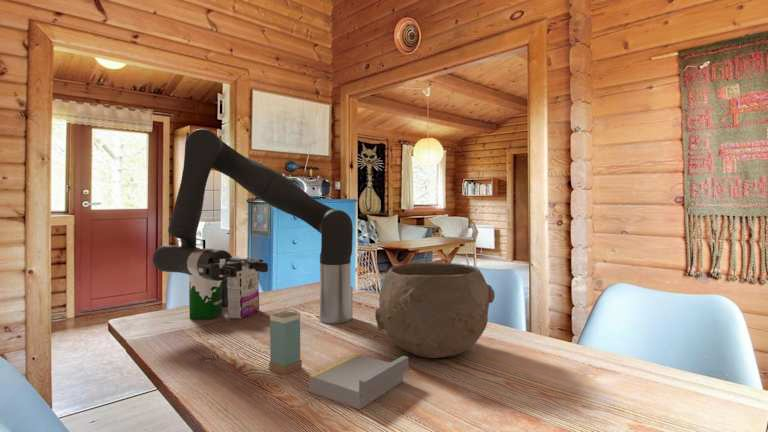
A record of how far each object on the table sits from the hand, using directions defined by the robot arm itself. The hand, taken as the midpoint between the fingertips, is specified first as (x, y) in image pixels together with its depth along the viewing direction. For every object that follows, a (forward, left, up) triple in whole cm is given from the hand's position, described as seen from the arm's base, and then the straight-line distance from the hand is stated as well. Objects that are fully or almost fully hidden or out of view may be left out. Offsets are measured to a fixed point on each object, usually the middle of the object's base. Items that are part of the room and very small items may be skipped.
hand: (251, 270), depth 95 cm
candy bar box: (-22, -33, -20) cm, 45 cm away
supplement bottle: (-24, -49, -20) cm, 58 cm away
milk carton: (-14, -41, -20) cm, 48 cm away
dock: (-2, +29, -20) cm, 35 cm away
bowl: (-27, +32, -20) cm, 47 cm away
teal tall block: (0, +11, -20) cm, 23 cm away
